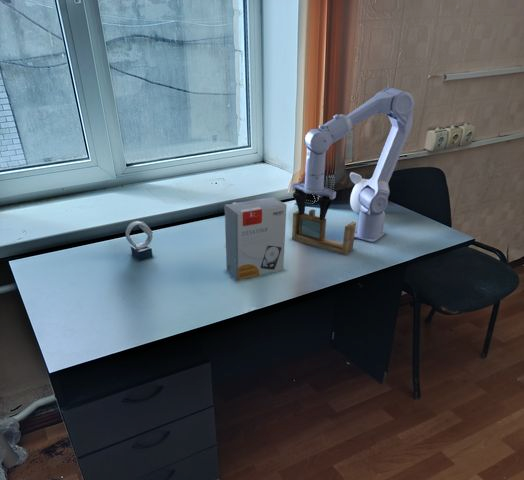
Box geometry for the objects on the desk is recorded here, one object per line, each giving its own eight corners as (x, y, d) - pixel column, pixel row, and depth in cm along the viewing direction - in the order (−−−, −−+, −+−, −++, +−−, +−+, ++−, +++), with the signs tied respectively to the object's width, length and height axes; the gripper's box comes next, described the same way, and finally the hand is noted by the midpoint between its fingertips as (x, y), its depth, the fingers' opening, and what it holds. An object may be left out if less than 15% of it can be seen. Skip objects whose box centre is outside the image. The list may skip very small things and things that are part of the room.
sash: (300, 234, 160) (302, 206, 154) (323, 240, 156) (325, 212, 150) (297, 236, 159) (299, 208, 153) (320, 242, 155) (322, 214, 149)
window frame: (300, 234, 163) (301, 208, 158) (352, 249, 154) (356, 222, 149) (291, 239, 160) (293, 213, 155) (345, 255, 151) (348, 227, 145)
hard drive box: (236, 282, 136) (234, 213, 124) (225, 271, 141) (222, 204, 130) (284, 270, 142) (287, 204, 130) (272, 260, 147) (273, 195, 136)
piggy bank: (375, 207, 184) (380, 167, 176) (382, 219, 175) (389, 177, 166) (343, 208, 184) (347, 167, 175) (349, 219, 174) (353, 177, 166)
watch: (158, 255, 150) (154, 221, 143) (134, 262, 146) (128, 228, 139) (150, 249, 153) (145, 216, 147) (126, 256, 149) (120, 222, 143)
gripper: (287, 171, 146) (285, 215, 154) (329, 180, 139) (325, 225, 147) (300, 166, 150) (297, 209, 158) (341, 174, 143) (336, 219, 152)
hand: (311, 216), depth 153 cm, fingers open, 7 cm apart
